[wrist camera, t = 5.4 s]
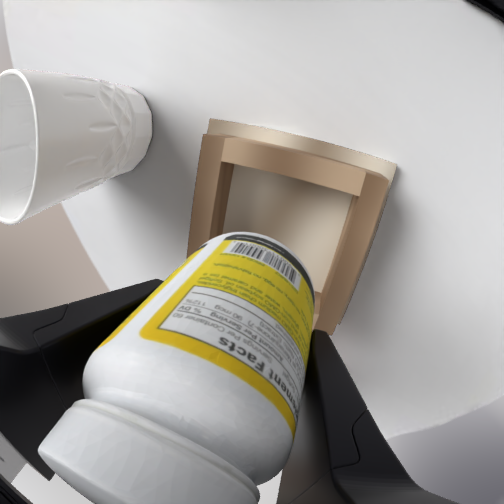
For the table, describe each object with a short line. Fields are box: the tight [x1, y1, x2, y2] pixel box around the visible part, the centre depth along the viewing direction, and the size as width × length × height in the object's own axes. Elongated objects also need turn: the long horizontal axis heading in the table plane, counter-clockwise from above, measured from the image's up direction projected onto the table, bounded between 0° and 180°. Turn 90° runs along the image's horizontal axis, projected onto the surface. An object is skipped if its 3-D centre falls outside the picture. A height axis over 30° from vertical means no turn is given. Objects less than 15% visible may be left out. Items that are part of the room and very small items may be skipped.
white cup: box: [0, 69, 152, 225], centre depth 14 cm, size 8×8×10 cm
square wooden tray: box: [187, 119, 397, 335], centre depth 17 cm, size 11×11×3 cm
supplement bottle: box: [38, 232, 315, 504], centre depth 7 cm, size 5×5×8 cm
